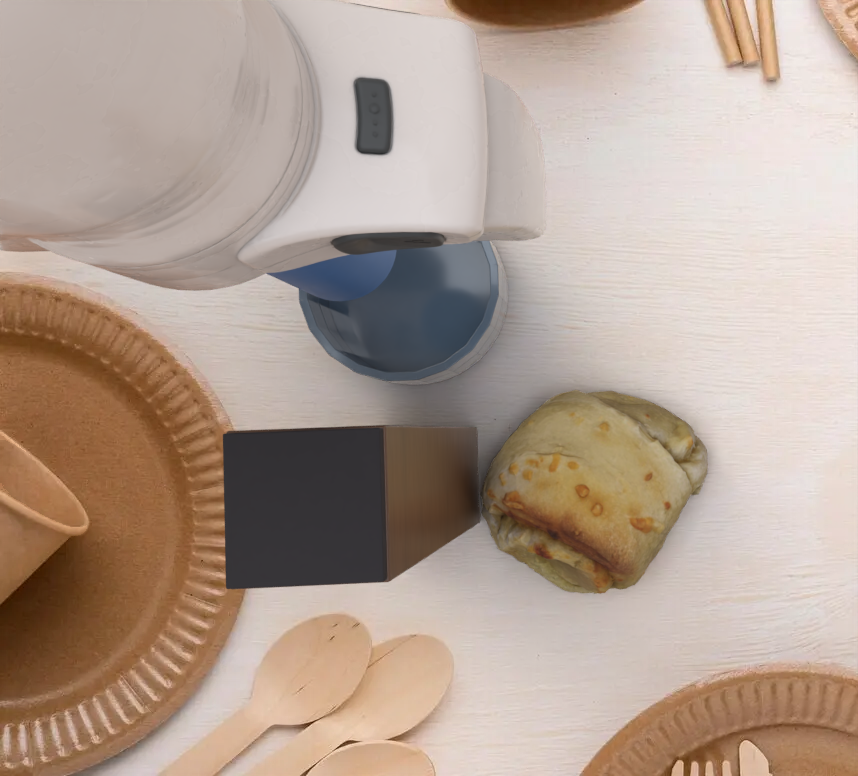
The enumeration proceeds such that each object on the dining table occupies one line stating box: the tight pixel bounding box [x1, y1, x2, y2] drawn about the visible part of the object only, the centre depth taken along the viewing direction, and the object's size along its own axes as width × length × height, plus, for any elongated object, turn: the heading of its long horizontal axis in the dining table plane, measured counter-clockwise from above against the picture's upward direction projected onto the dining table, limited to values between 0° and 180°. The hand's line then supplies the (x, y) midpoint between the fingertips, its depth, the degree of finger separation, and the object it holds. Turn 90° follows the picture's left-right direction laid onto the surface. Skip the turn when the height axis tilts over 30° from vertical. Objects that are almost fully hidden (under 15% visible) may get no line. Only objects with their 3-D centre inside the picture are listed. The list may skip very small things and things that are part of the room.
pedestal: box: [226, 424, 481, 590], centre depth 53 cm, size 6×6×26 cm
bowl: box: [298, 241, 509, 386], centre depth 64 cm, size 11×11×6 cm
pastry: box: [479, 389, 709, 595], centre depth 63 cm, size 14×12×8 cm
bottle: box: [265, 250, 396, 301], centre depth 42 cm, size 5×5×14 cm
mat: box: [222, 428, 387, 590], centre depth 40 cm, size 6×6×1 cm
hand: (311, 225), depth 44 cm, fingers closed on bottle, 5 cm apart
